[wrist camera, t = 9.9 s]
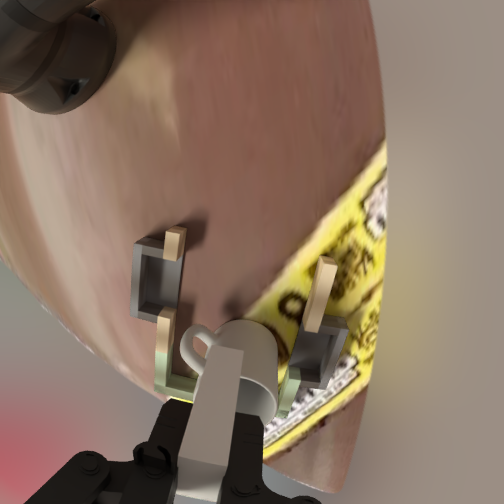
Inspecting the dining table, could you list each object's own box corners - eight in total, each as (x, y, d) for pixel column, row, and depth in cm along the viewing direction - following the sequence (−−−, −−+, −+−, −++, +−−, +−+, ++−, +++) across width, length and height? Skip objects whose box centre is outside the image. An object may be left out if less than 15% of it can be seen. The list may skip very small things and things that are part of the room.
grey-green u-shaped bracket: (145, 220, 35) (135, 225, 32) (360, 263, 35) (368, 272, 32) (137, 371, 41) (130, 384, 38) (309, 406, 41) (311, 421, 38)
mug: (291, 347, 38) (297, 407, 28) (245, 384, 40) (238, 444, 30) (219, 285, 37) (199, 333, 26) (175, 329, 39) (147, 382, 28)
